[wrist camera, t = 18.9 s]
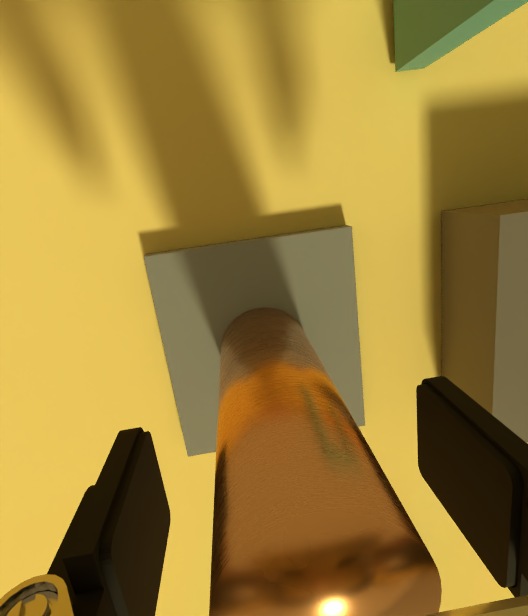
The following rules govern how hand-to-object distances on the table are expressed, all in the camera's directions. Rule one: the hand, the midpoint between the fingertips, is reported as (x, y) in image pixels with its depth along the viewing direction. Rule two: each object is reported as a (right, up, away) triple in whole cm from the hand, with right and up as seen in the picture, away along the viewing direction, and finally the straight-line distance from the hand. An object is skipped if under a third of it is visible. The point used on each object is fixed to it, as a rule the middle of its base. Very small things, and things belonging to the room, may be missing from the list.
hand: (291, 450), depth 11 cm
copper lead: (-1, +2, +7) cm, 8 cm away
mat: (-1, +2, +8) cm, 8 cm away
